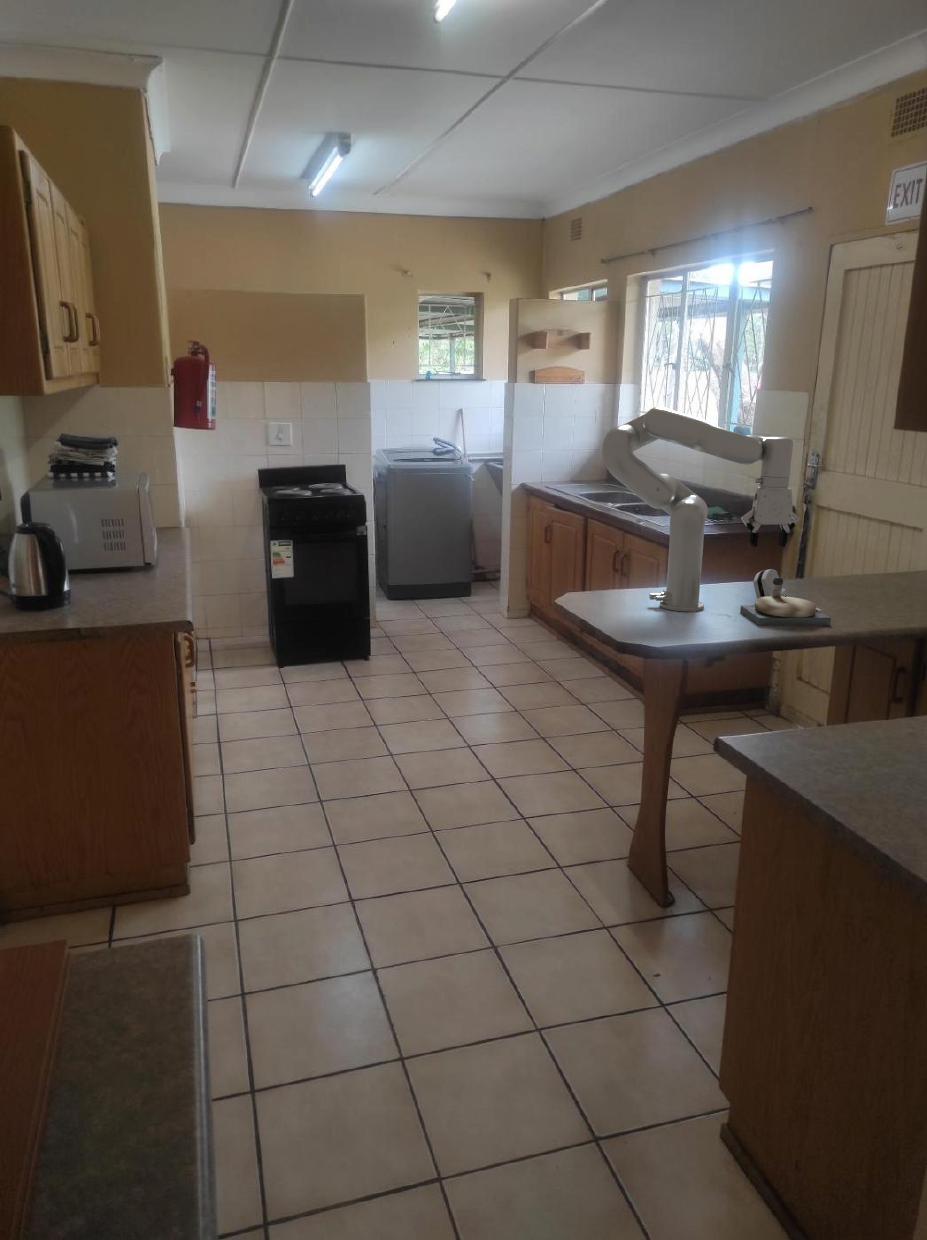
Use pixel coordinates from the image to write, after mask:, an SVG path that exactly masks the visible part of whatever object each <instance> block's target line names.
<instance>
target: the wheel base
mask: <svg viewBox="0 0 927 1240" xmlns="http://www.w3.org/2000/svg"><path fill="white" fill-rule="evenodd" d="M739 613H740V614H742V616H744V617H745V618H746V619H749V621H750V622H752V623H753V624H756V625H757V626H759V627H763V626H765V627H767V626H768V627H772V626H773V627H776V626H777V627H778V626H780V627H781V626H783V627H784V626H789V627H790V626H795V625H799V626H801V627H802V626H831V622H832V617H831V616H829V615H827V614H826V613H824V612H823V611H822V609H821V608H818V607H816V613H815V614H814V615H812V616H808V617H782V616H775V615H769V614H765V613H762V612H760V611H758V610H756V609H755V604H751V605H750V604H748V605H747V604H741V605H740V609H739Z"/></svg>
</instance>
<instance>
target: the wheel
mask: <svg viewBox="0 0 927 1240" xmlns="http://www.w3.org/2000/svg"><path fill="white" fill-rule="evenodd" d="M783 584H784V580H783V578H782V577H781V576H778V577H775V578H774V580H773V593H772V596H767V597H760V598H758V599H757V598H756V599H755V604H754V605H755V609H756V610H758V611H760V612H762V613H765V614H769V615H775V616H782V617H808V616H812V615H814V614H815V613H816V608H817V604H816V603H815V602H813V601H811V600H807V599H804V598H799V597H793V596H786V597H784V596H781V592H782V588H783Z"/></svg>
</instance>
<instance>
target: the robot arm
mask: <svg viewBox="0 0 927 1240" xmlns="http://www.w3.org/2000/svg"><path fill="white" fill-rule="evenodd" d="M658 440H662V441H665V442H669V443H673V444H675V445H679V446H682V447H685V448H688V449H691V450H695V451H697V452H700V453H704V454H708V455H711V456H714V457H716V458H719V459H723V460H727V461H729V462H733V463H736V464H739V465H744V466H747V465H748V466H749V465H752V464H755V463H756V462H761V469H760V475H759V477H758V478H755V479H754V481H755V484H759V485H758V487H757V488H756V489H755V493H754V497H753V501H752V506H751V507H752V508H751V510H749V511H748V512H746V513H745V514H744V515H742V516H741V517H740V520H741V521H742V523H743V524H744V526H746V528H747V529H748V531H749V532H750V534H749V544H750V546H752V547H753V548H757V547H758V542H759V541H758V540H759V532H758V530H759V529H760V527H761V526H762V525H763V526H765V525H769V526H770V525H776V526H778V525H779V526H780V528H781V530H780V531H779V535H778V546H780V547H781V548H785V547H786V544H787V543H788V538H789V537H788V535H789V533H790V532H791V531H792V530H793V528H794V527H796V525H797V524H798V523H799V522H800V520H801V518H800V516H799V515H797V514H796V513H795V512H794V511H793V489H792V488H791V487H789V486H790V475H791V468H792V466H791V465H792V456H793V449H794V441H793V439H792V438H791V437H788V436H761V435H755V434H747V435H746V434H743V433H742V434H741V433H737V432H735V431H731V430H727V429H725V428H722V427H721V426H720V427H719V426H717V425H715V424H713V423H712V422H710V421H708V420H706V419H704V418H700V417H697V416H693V415H689V414H685V413H682V412H679V411H676V410H673V409H671V408H669V407H668V406H662V405H661V406H656V407H652V408H650V409H649V410H648V411H647V412H646V413H644V414H642V415H641V416H638V417H636V418H634V419H632V420H630V421H628V422H626V423H624V424H622V425H621V424H620V425H617V426H615V427H612V428H611V429H610V430H608V432H607V433H606V435H605V436H604V439H603V442H602V447H601V454H602V460H603V463H604V465H605V467H606V469H607V471H608V473H610V474H611V475H612V476H613V478H615V480H617V481H618V482H619V483H621V484H622V485H624V486H625V487H626V488H627V490H629V491H631V492H632V494H634V495H635V496H637V497H638V498H639V499H641V500H642V501H643V502H644V503H645V504H646V505H648V506H649V507H651V508H653V509H656V510H662V511H664V512H665V513H667V514H668V515H669V516H670V517H669V542H668V543H669V546H668V558H667V560H668V561H667V562H668V563H667V574H666V575H667V576H666V587H665V588H666V589H663V590H662V591H661V592H660V593H659V592H658V593H655V592H654V593H653V592H650V593H649V595H648V596H649V600H654V601H657V602H659V607H661V608H663V609H665V610H670V611H673V612H674V611H675V612H686V613H688V612H698V611H702V610H703V609H704V608H705V604H704V602H702V601H700V592H701V591H700V590H701V576H702V566H703V555H704V554H703V553H704V552H703V551H704V540H705V539H704V536H705V527H706V526H705V524H706V520H707V518H708V514H709V510H708V504H707V502H705V500H704V499H703V498H702V497H700V495H698V494H697V493H696V492H693V490H691V489H690V488H689V487H687V486H686V485H685V484H683V482H681V481H680V480H678V479H677V478H676V477H674V476H672V475H670V474H667V473H659V472H658V471H656V470H655V469H653V468H652V467H650V466H649V465H647V463H646V462H644V460H643V461H642V459H639V458H638V457H637V456H636V455H635V453H634V452H635V451H637V450H639V449H641V448H643V447H645V446H647V445H650V444H652V443H653V442H656V441H658ZM749 519H751V521H752V523H751V522H750V520H749Z"/></svg>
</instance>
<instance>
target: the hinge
mask: <svg viewBox="0 0 927 1240" xmlns="http://www.w3.org/2000/svg"><path fill="white" fill-rule="evenodd" d="M775 577H779V574H778V571H777V570H776V569H773V568H770V569H765V570H764V569H763V570H761V571H759V572H757V573H756V574H755V576H754V578H753V587H754V592H755V595H756V599H758V598H760V597H767V596H772V593H773V580H774V578H775ZM786 595H787V596H788V593H787V590H786V589H785V588H784V587H782V592H781V596H784V597H785V596H786ZM787 596H786V597H787Z"/></svg>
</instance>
